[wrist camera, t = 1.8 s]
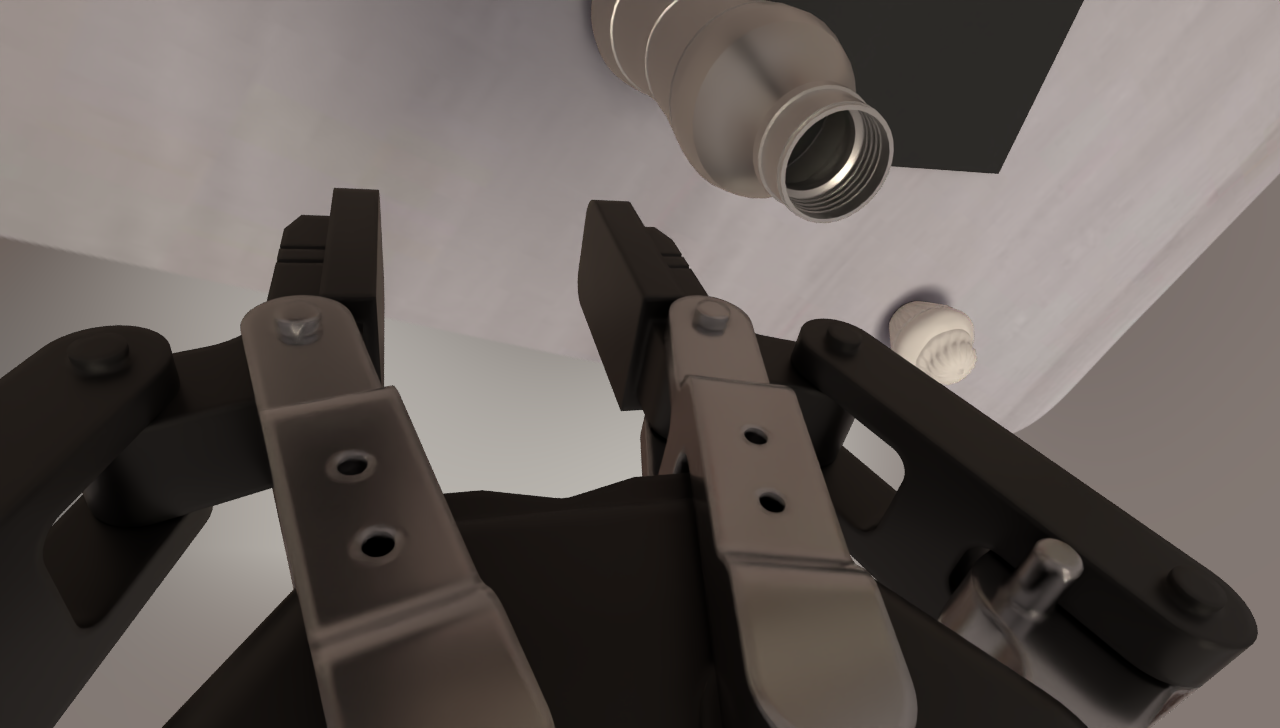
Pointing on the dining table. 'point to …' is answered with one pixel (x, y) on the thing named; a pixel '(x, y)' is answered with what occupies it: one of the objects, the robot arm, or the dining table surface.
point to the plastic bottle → (753, 98)
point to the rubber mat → (949, 70)
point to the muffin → (934, 340)
